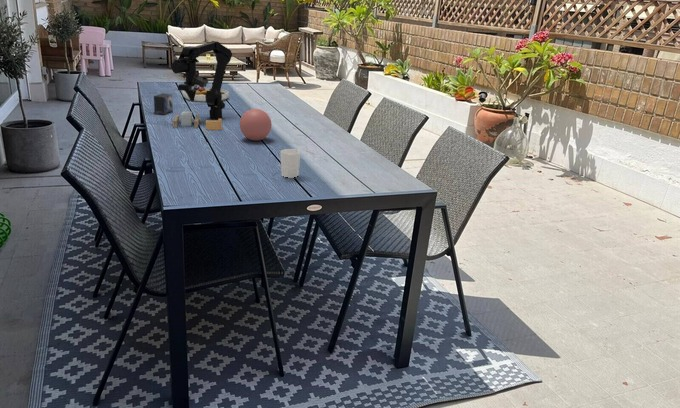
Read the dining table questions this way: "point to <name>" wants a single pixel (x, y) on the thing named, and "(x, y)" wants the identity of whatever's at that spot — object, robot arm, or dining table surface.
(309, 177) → the dining table surface
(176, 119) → the channel
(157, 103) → the small box
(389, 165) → the dining table surface
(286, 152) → the white cup
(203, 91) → the bowl
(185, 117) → the plug block
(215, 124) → the bar
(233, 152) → the dining table surface
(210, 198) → the dining table surface
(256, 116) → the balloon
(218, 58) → the robot arm
